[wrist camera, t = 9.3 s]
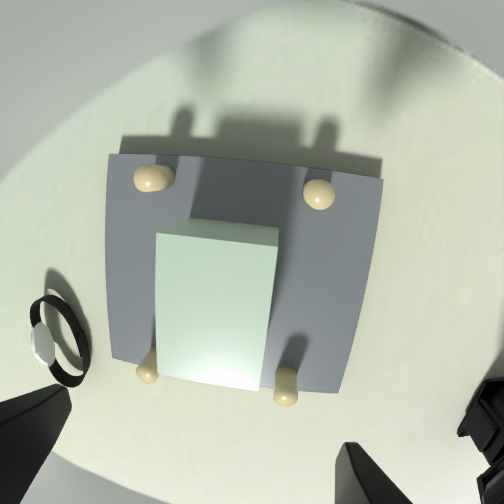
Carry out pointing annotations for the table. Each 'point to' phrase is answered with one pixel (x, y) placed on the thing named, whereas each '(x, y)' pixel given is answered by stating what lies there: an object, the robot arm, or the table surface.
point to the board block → (214, 300)
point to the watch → (45, 343)
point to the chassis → (287, 264)
